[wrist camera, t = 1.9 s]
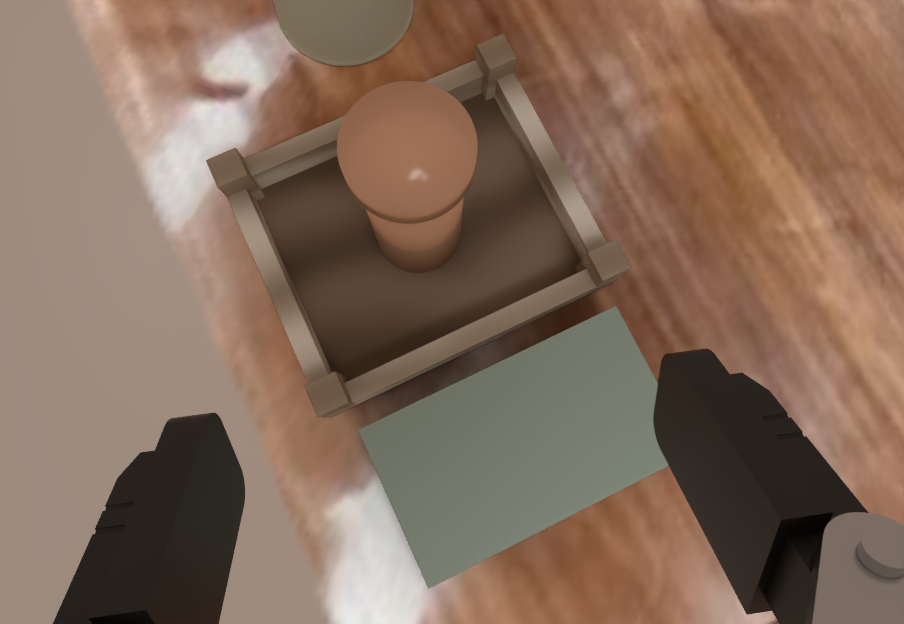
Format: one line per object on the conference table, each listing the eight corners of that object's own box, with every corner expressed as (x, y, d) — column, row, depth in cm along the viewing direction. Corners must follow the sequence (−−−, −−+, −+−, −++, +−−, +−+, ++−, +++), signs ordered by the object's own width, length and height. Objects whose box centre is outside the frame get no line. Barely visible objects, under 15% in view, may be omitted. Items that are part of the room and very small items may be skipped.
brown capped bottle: (399, 171, 38) (379, 58, 26) (483, 213, 38) (501, 118, 26) (352, 252, 37) (311, 172, 26) (439, 296, 37) (436, 236, 25)
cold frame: (230, 187, 38) (206, 160, 35) (497, 71, 40) (503, 33, 36) (331, 417, 36) (317, 416, 32) (611, 283, 38) (631, 267, 34)
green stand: (365, 429, 36) (358, 429, 33) (602, 315, 37) (615, 305, 34) (429, 574, 34) (428, 588, 32) (673, 449, 36) (694, 452, 33)
